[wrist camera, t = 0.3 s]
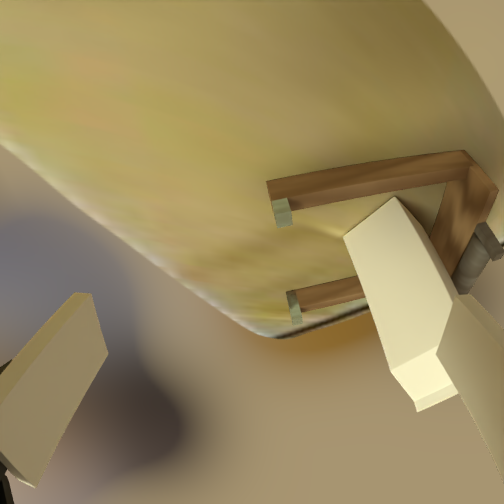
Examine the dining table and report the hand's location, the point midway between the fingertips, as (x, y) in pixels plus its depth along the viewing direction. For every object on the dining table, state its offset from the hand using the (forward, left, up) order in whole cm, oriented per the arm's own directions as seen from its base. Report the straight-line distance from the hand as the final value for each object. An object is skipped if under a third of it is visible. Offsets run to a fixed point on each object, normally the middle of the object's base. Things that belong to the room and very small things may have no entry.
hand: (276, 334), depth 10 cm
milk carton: (+16, +14, -17) cm, 27 cm away
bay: (+16, +12, -16) cm, 25 cm away
